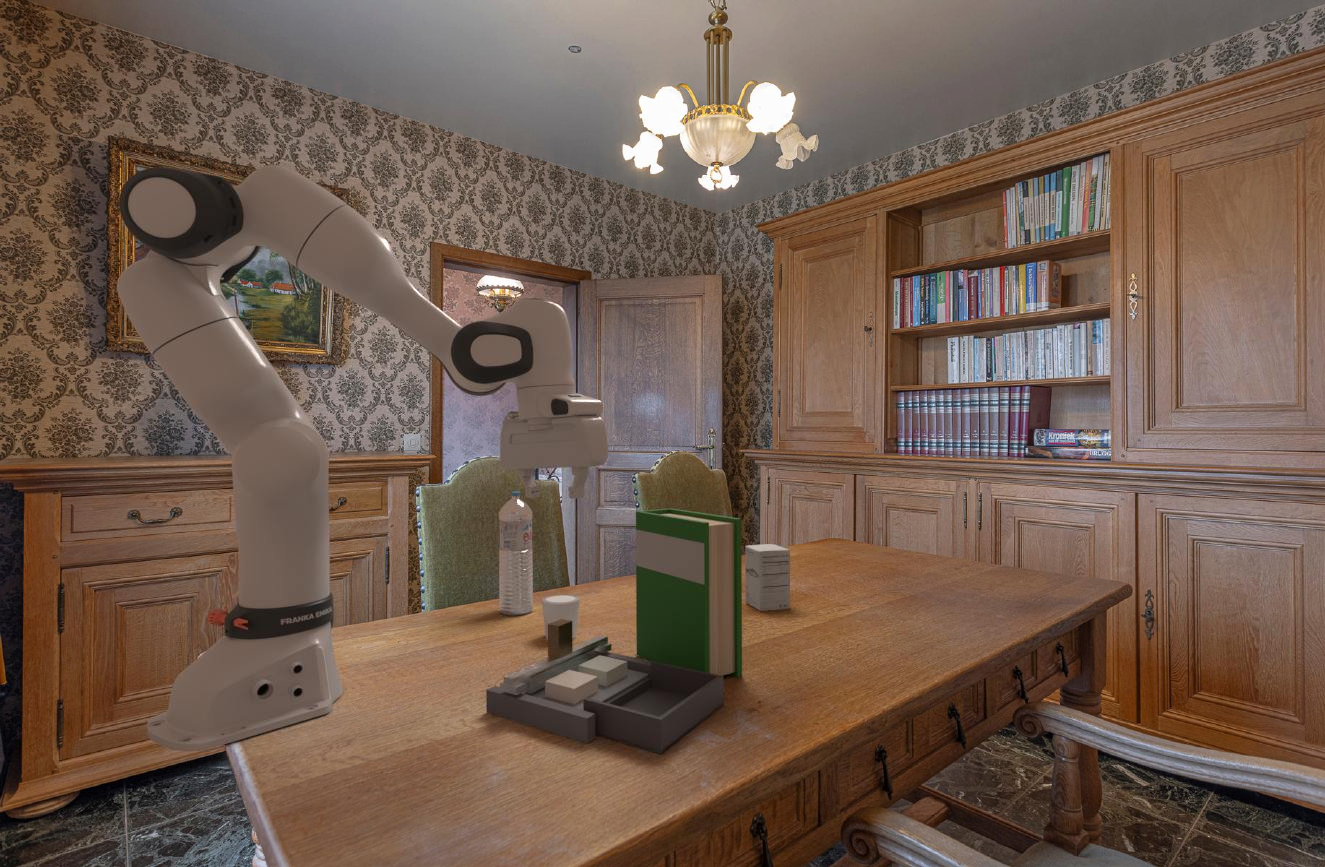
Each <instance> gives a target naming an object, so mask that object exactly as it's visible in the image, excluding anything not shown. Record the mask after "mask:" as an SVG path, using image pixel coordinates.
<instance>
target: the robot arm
mask: <svg viewBox="0 0 1325 867" xmlns="http://www.w3.org/2000/svg"><path fill="white" fill-rule="evenodd" d="M118 206H119V207H118V209H119V213H120V216H121V218H122V222H123V223H124V225H125V227H126V228H127V230H128V231H129V232H130V233H131V235H132V236H133V237H134V238H135V239H136V240H137V241H138V242H140V243H141V245H143V246H144V247H146V248H148V249H149V250H148V253H147V254H146V255H145V256H144V257H143V258H140V259H139V260H137V261H134V262H133V263H132V264H130V265H129V266H127V267H126V268H125V269H124V270H123V271H122V272H121V273H120V275H119V277H118V278H117V283H116V292H117V294H118V298H119V299H120V302H121V304H122V306H123V310H124V311H125V313H126V314H127V317H128V319H129V321H130V322H131V325H132V326H133V328H134V329H135V332H136V333H137V335H138V337H139V338H140V339H141V341H142V343H143V344H144V346H145V347H146V349H147V350H148V351H149V353H150V354H151V355H152V357H153V358H154V361H156V363H157V364H158V365H159V367H160V368H161V370H162V371H163V372H164V374H165V375H166V377H167V378H168V379H169V380H170V381H171V383H172V385H173V386H174V387H175V389H176V390H177V391H178V393H179V394H180V395H181V397H182V399H184V401H185V402H186V403H187V405H188V406H189V408H190V409H191V410H192V411H193V413H195V415H196V416H197V417H198V418H199V419H200V420H201V421H202V422H203V423H204V424H205V426H207V427H208V429H209V430H210V431H211V433H212V434H213V435H214V436H215V437H216V439H218V440H219V442H220V443H221V444H222V445H223V446H224V448H225V449H226V451H228V453H229V454H230V455H231V457H232V458H231V470H232V489H233V490H232V492H233V505H234V516H235V525H236V526H235V528H236V535H237V543H238V544H237V546H238V549H237V550H238V603H236V604H235V606H234V607H233V609H231V611H230V612H228V611H226V610H223V609H219V608H215V609H213V610H211V611H210V612H209V614H208V615H207V618H206V619H207V623H209V624H210V625H213V626H216V627H223V626H224V629H223V630H224V634H223V635H222V636H221V638H219V639H218V640H217V641H216V642H214V644H213V645H211V646H210V647H209V648H208V649H207V650H205V652H203V653H202V654H201V655H200V656H198V658H196V659H195V660H194V661H193V662H192V663H190V664H189V665H188V666H187V667H186V668H184V669H183V670H182V671H181V672H179V674H178V675H177V676H176V678H175V679H174V681H173V684H172V687H171V691H170V696H169V701H168V707H167V711H166V712H165V711H164V712H163V713H160V714H157V715H155V716H152V717H151V718H149V720H148V721H147V723H146V730H145V733H146V736H147V738H148V740H150V741H152V742H153V743H155V744H156V745H159V746H160V747H163V748H167V749H169V750H174V751H181V752H202V751H206V750H210V749H213V748H216V747H221V746H223V745H226V744H230V743H234V742H236V741H240V740H243V739H246V738H251V737H253V736H257V735H260V734H263V733H267V732H271V731H274V730H277V729H280V728H283V727H284V728H285V727H287V726H291V725H294V724H296V723H299V722H302V721H303V722H304V721H306V720H307V721H308V720H310V719H312V718H317V717H320V716H324V715H326V714H328V713H330V712H331V710H332V709H333V703H335V701H336V700H337V699H339V698H340V696H342V695H343V692H344V686H343V684H342V681H341V678H340V675H339V671H338V667H337V662H336V658H335V651H334V644H333V643H334V642H333V635H332V630H333V626H334V620H335V619H334V618H335V617H334V616H335V614H334V611H335V609H334V594H333V593H332V592H331V585H330V584H331V582H330V581H331V575H330V574H331V573H330V572H331V570H330V568H331V565H330V564H331V563H330V560H331V558H330V557H331V555H330V551H331V550H330V546H331V544H330V540H331V539H330V501H329V500H330V499H329V497H330V494H329V490H330V489H329V488H330V487H329V477H330V476H329V473H330V472H329V465H330V453H329V452H330V451H329V448H328V445H327V443H326V441H325V439H324V438H323V437H322V435H321V433H320V432H319V431H318V430H317V428H316V426H315V425H314V423H313V422H312V421H311V419H310V417H308V415H307V413H306V411H304V410H303V408H302V407H301V405H300V404H299V402H298V401H297V400H296V398H295V397H294V395H293V393H291V391H290V389H289V388H288V387H287V385H286V383H285V382H284V381H283V380H282V378H281V376H280V375H279V374H278V372H277V371H276V370H275V368H274V367H273V365H272V364H271V362H270V361H269V359H268V358H267V357H266V355H265V354H264V352H263V351H262V349H261V348H260V347H259V344H258V343H257V342H256V340H255V339H254V338H253V336H252V335H251V333H250V331H249V330H248V329H247V327H246V326H245V324H244V323H243V322H242V320H241V319H240V317H239V316H238V314H237V312H235V310H234V309H233V307H232V306H231V304H230V303H229V302H228V300H227V299H226V296H225V295H224V293H223V291H222V289H221V284H226V283H228V282H230V281H231V280H232V279H233V278H234V277H235V276H236V275H237V274H238V273H239V272H240V271H241V270H242V269H243V268H244V267H246V266H247V265H248V264H250V263H251V262H252V261H253V260H254V259H255V258H256V257H257V255H258V253H259V252H260V250H261V248H262V247H263V248H266V249H268V250H270V251H272V252H274V253H276V254H277V255H279V256H280V257H281V258H282V259H284V260H285V261H287V262H288V263H290V264H291V265H293V266H294V267H295V268H296V269H298V270H299V271H300V272H302V273H304V275H306V276H308V277H309V278H311V279H313V280H314V281H316V282H317V283H319V284H321V285H322V286H324V287H325V288H327V289H329V290H331V291H332V292H335V293H336V294H338V295H340V296H342V297H344V298H346V299H348V300H350V301H352V302H354V303H355V304H358V305H359V306H361V307H363V308H365V309H366V310H369V311H370V312H372V313H374V314H376V315H378V316H380V317H382V318H383V319H385V320H386V321H388V322H389V323H390V324H392V325H393V326H395V327H396V328H397V329H398V330H400V331H401V332H402V333H403V334H405V335H406V336H408V337H409V338H411V339H412V341H414V342H416V343H417V344H418V345H420V346H421V347H422V348H424V349H425V350H426V351H428V352H429V353H430V354H431V355H433V357H435V359H437V360H438V361H439V364H441V366H442V367H443V369H444V371H445V372H446V375H447V376H448V377H449V379H450V381H451V382H452V384H453V385H454V386H456V388H457V389H459V391H461V392H464V393H465V394H468V395H470V396H475V397H476V396H477V397H485V396H489V395H490V396H491V395H493V394H495V393H497V392H498V391H500V390H501V389H502V388H503V387H504V386H505V385H506V384H507V383H514V385H515V387H516V397H517V398H516V400H517V410H512V411H509V412H507V413H506V414H507V415H505V417H504V419H503V420H502V428H501V431H500V438H499V439H500V445H499V456H500V457H499V458H500V459H499V460H500V465H501V466H502V468H503V469H504V470H518V478H519V480H520V482H521V483H522V485H523V487H524V488H525V493H524V494H525V498H526V499H538V498H541V486H540V485H537V484H536V481H535V479H534V477H533V476H534V475H535V469H536V470H537V469H557V468H558V469H559V468H560V469H561V468H563V469H564V468H571V475H573V476H574V478H573V482H572V485H571V486H568V498H570V499H581V498H584V497H585V488H584V487H585V484H586V483H587V479H588V477H589V474H590V470H589V468H591V467H599V466H604V465H605V463H606V461H607V459H608V457H609V446H608V436H607V429H606V424H605V422H604V419H603V418H602V417H601V416H599V415H601V414H603V413H604V406H603V402H602V401H601V400H600V399H598V398H593V397H590V396H587V395H583V394H581V393H577V390H576V388H577V387H576V382H575V378H574V376H573V370H572V369H573V368H572V366H573V361H574V352H573V342H572V340H573V339H572V333H571V327H570V323H569V319H568V316H567V313H566V312H565V309H564V308H563V307H562V306H561V305H559V304H557V303H555V302H554V301H551V300H548V299H544V298H537V297H532V298H529V297H528V298H527V297H526V298H521V299H518V300H516V302H514V303H513V304H512V305H510V306H509V307H508V308H506V309H505V310H503V311H501V312H499V313H497V314H494V315H492V316H490V317H487V318H484V319H481V320H477V321H473V322H470V323H467V324H466V325H465V326H463V325H461V324H459V323H458V322H457V321H456V320H454V319H453V318H451V317H450V316H449V315H448V314H446V312H444V311H443V310H442V309H440V308H439V307H438V306H436V305H435V304H434V303H432V301H430V300H429V299H428V298H427V297H426V296H424V295H423V294H422V293H421V292H420V291H419V290H418V289H416V287H415V286H414V285H413V284H412V282H411V281H410V280H409V278H408V277H407V275H406V274H405V272H404V270H403V269H402V267H401V265H400V262H399V260H398V258H397V256H396V254H395V252H394V250H393V248H392V246H391V244H390V243H389V241H388V240H387V238H385V237H384V236H383V235H382V234H381V232H380V231H378V229H377V228H376V227H375V226H374V225H373V224H371V222H370V221H369V220H368V219H366V218H365V217H364V215H362V214H360V213H359V212H358V211H357V210H355V209H354V208H353V207H351V206H350V205H349V204H348V203H346V202H345V201H343V200H342V199H341V198H339V197H338V196H336V195H335V194H334V193H332V192H330V190H327V189H326V188H325V187H323V186H321V185H320V184H318V183H316V182H314V181H313V180H312V179H309V178H307V177H306V176H304V175H302V174H300V173H299V172H298V171H295V170H293V169H290V168H289V167H286V166H284V165H278V164H269V165H264V166H261V167H260V168H257V169H255V170H254V171H252V172H251V173H250V174H248V176H247V177H245V179H244V180H243V181H242V182H241V183H240V184H237V185H232V184H231V182H229V181H228V179H226V178H224V177H223V176H221V175H220V176H218V175H213V174H209V173H203V172H197V171H194V170H189V169H184V168H175V167H168V166H167V167H165V166H164V167H163V166H161V167H160V166H159V167H151V168H150V167H149V168H146V169H142V170H140V171H137V172H136V173H134V174H133V175H131V177H129V178H128V179H127V180H126V181H125V183H124V184H123V186H122V188H121V190H120V193H119V199H118Z"/></svg>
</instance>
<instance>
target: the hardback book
mask: <svg viewBox="0 0 1325 867" xmlns="http://www.w3.org/2000/svg"><path fill="white" fill-rule="evenodd" d="M742 559H743V558H742V518H740V517H732V516H726V515H718V514H712V513H711V514H710V513H704V512H698V511H691V510H685V509H678V508H662V509H661V508H660V509H653V510H651V509H650V510H640V511H638V510H637V511H635V570H636V571H635V593H636V594H635V595H636V597H635V598H636V599H635V600H636V601H635V602H636V603H635V604H636V608H635V609H636V613H635V615H636V617H635V618H636V621H635V622H636V623H635V624H636V627H635V628H636V656H637V657H638V658H639V657H640V658H641V659H644V660H649V661H655V662H660V663H665V664H669V665H674V666H679V667H683V668H688V669H693V670H698V671H702V672H707V673H712V674H716V675H721V676H723V677H724V676H725V675H731V676H733V677H735V678H737V679H738V678H741V677H743V620H742V619H743V612H742V611H743V603H742V601H743V600H742V599H743V590H742V589H743V588H742V587H743V586H742V584H743V578H742V570H743V568H742V566H743V564H742Z"/></svg>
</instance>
